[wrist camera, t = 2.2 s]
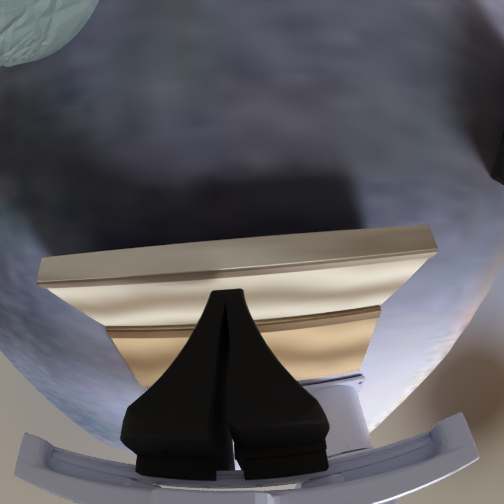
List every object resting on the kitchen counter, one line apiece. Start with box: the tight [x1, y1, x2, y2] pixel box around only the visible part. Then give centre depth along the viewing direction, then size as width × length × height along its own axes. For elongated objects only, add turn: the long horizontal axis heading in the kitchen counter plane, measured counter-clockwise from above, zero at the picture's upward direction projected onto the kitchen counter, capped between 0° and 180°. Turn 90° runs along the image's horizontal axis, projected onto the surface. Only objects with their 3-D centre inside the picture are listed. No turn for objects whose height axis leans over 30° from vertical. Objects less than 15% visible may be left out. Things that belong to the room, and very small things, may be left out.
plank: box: [37, 225, 438, 326], centre depth 17 cm, size 9×22×2 cm, turn 93°
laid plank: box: [106, 305, 381, 387], centre depth 24 cm, size 9×22×2 cm, turn 94°
